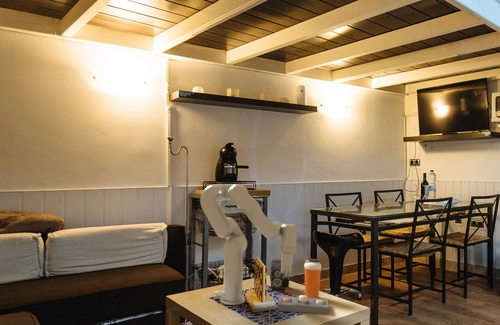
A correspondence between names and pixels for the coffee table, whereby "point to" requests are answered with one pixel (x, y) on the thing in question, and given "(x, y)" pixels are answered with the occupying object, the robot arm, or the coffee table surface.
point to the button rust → (286, 300)
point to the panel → (303, 305)
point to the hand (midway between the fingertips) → (285, 286)
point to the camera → (276, 275)
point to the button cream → (303, 299)
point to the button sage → (320, 302)
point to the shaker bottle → (312, 278)
